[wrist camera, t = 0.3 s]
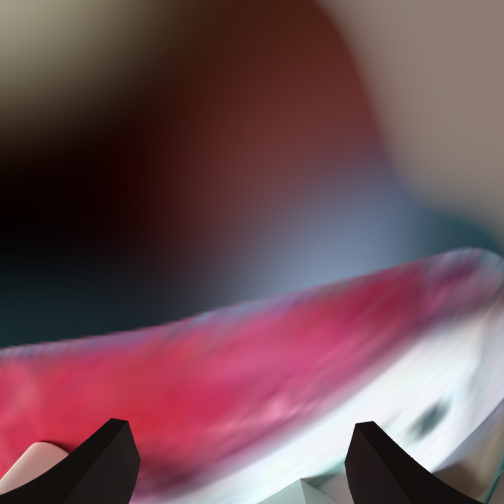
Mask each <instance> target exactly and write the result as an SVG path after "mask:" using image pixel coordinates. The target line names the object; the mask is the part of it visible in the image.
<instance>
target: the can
mask: <svg viewBox="0 0 504 504" xmlns="http://www.w3.org/2000/svg"><path fill="white" fill-rule="evenodd" d="M68 455H69V453H68V452H66V451H65V450H63V449H62V448H60V447H58V446H56V445H54V444H51V443H45V442H36V443H34V444H32V445H31V446H30V447H29V448H28V450H27V451H26V452H25V453H24V454H23V455H22V456H21V457H20V458H19V459H18V461H17V462H16V463H15V464H14V465H13V466H12V467H11V468H10V470H9V471H8V472H7V473H6V474H5V475H4V476H3V478H2V479H1V480H0V495H1V494H4V493H6V492H8V491H11V490H13V489H15V488H18V487H20V486H22V485H24V484H26V483H28V482H29V481H31V480H33V479H35V478H37V477H38V476H40V475H41V474H43V473H44V472H46V471H47V470H49V469H50V468H52V467H53V466H54V465H56V464H57V463H59V462H60V461H61V460H63V459H64V458H65V457H67V456H68Z"/></svg>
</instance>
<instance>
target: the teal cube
mask: <svg viewBox="0 0 504 504" xmlns="http://www.w3.org/2000/svg"><path fill="white" fill-rule="evenodd" d="M257 504H336V501H335V499H333V498H331V497H330V496H328V495H326V494H325V493H323V492H321V491H319V490H318V489H316V488H314V487H313V486H311V485H309V484H308V483H306V482H305V481H303V480H301V479H299V480H297V481H295V482H294V483H292V484H291V485H289V486H287V487H286V488H284V489H282V490H281V491H279V492H277V493H275V494H274V495H272V496H270V497H268V498H267V499H265V500H263V501H261V502H259V503H257Z"/></svg>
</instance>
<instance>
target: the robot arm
mask: <svg viewBox="0 0 504 504" xmlns="http://www.w3.org/2000/svg"><path fill="white" fill-rule="evenodd" d="M344 463H345V468H346V474H347V479H348V484H349V489H350V492H351V495H352V498H353V501H354V504H484V503H481V502H479V501H477V500H474V499H472V498H470V497H468V496H466V495H464V494H462V493H461V492H459V491H457V490H455V489H454V488H452V487H450V486H449V485H447V484H446V483H444V482H443V481H441V480H440V479H438V478H437V477H435V476H434V475H433V474H431V473H430V472H429V471H427V470H426V469H425V468H424V467H422V466H421V465H420V464H419V463H418V462H416V461H415V460H414V459H413V458H412V457H411V456H410V455H408V454H407V453H406V452H405V451H404V450H403V449H402V448H401V447H400V446H399V445H398V444H397V443H395V442H394V441H393V440H392V439H391V438H390V437H389V436H388V435H387V434H386V433H385V432H384V431H383V430H382V429H381V428H380V427H379V426H378V425H377V424H376V423H375V422H374V421H370V422H363V423H356V424H355V428H354V432H353V435H352V439H351V442H350V446H349V449H348V453H347V456H346V459H345V462H344ZM139 465H140V457H139V454H138V451H137V448H136V445H135V442H134V439H133V436H132V432H131V429H130V426H129V422H128V421H126V420H120V419H114V418H111V419H110V420H109V421H107V422H106V423H105V424H104V425H103V426H102V427H100V428H99V429H98V430H97V431H96V432H95V433H94V434H93V435H91V436H90V437H89V438H88V439H87V440H86V441H85V442H83V443H82V444H81V445H80V446H79V447H77V448H76V449H75V450H74V451H73V452H71V453H70V454H69V455H68V456H67V457H65V458H64V459H63V460H61V461H60V462H59V463H57V464H56V465H54V466H53V467H52V468H50V469H49V470H47V471H46V472H44V473H43V474H41V475H40V476H38V477H37V478H35V479H33V480H31V481H29V482H28V483H26V484H24V485H22V486H20V487H18V488H15V489H13V490H11V491H8V492H6V493H4V494H1V495H0V504H129V501H130V499H131V496H132V493H133V490H134V487H135V484H136V480H137V475H138V471H139Z"/></svg>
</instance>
